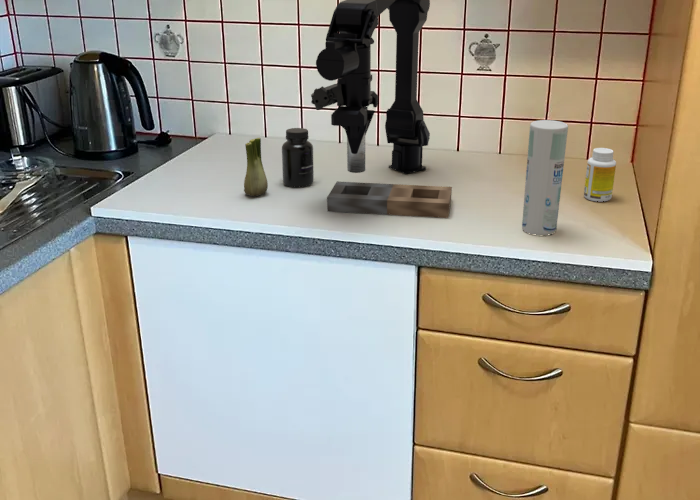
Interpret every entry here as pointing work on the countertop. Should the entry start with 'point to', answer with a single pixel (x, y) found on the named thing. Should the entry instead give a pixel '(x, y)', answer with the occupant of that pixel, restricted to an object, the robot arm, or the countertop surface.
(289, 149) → the supplement bottle
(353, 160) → the lock pin
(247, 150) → the fennel bulb
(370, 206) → the pin dock plate
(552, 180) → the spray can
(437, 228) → the countertop surface
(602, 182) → the supplement bottle
